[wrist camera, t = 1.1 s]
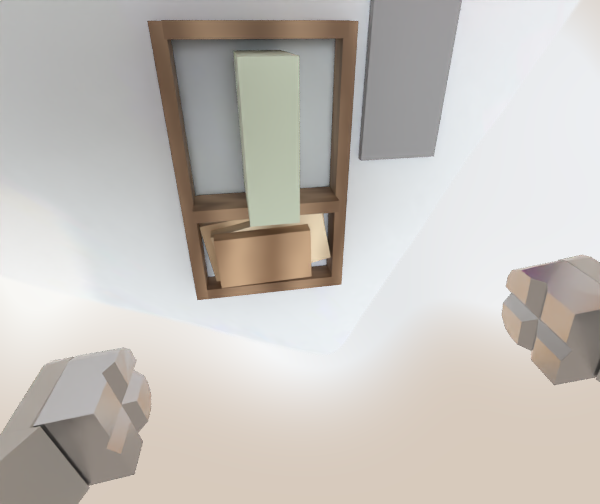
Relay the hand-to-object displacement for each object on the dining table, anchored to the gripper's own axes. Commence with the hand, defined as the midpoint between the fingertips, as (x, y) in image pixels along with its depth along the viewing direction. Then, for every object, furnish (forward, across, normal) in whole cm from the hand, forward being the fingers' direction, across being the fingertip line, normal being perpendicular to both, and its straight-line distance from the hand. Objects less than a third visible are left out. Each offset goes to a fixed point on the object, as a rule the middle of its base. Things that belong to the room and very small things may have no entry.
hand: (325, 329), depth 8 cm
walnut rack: (+31, +1, +6) cm, 32 cm away
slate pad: (+32, -14, -1) cm, 34 cm away
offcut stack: (+32, +2, +14) cm, 34 cm away
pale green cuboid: (+31, 0, +1) cm, 31 cm away
